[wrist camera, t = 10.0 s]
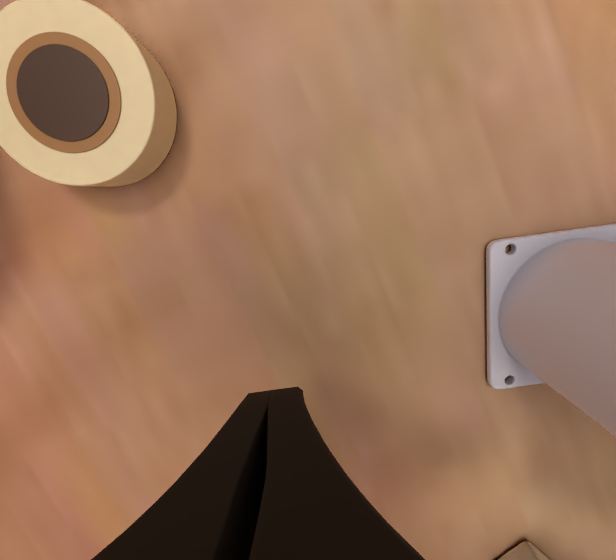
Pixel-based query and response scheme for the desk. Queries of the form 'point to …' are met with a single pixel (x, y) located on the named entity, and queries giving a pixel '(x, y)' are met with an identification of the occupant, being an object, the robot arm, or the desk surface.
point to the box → (524, 553)
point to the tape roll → (81, 96)
